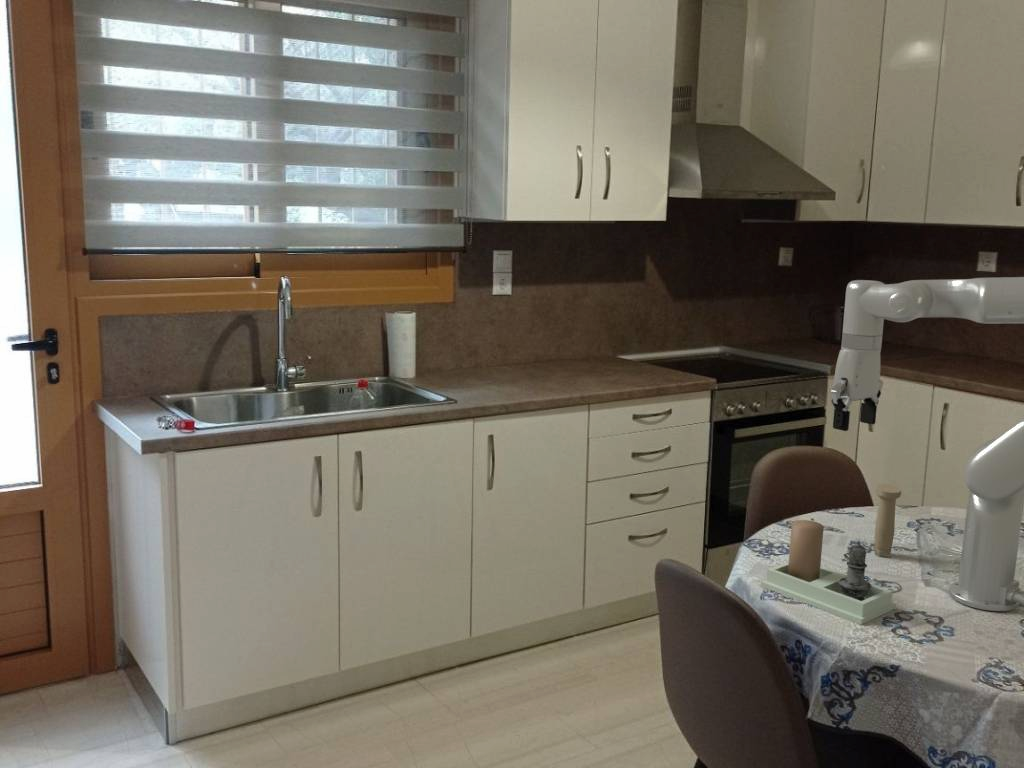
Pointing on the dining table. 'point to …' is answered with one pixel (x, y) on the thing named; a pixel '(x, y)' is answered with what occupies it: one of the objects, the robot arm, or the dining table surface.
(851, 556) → the salt shaker
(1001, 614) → the dining table surface
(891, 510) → the handle
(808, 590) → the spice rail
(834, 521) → the dining table surface
